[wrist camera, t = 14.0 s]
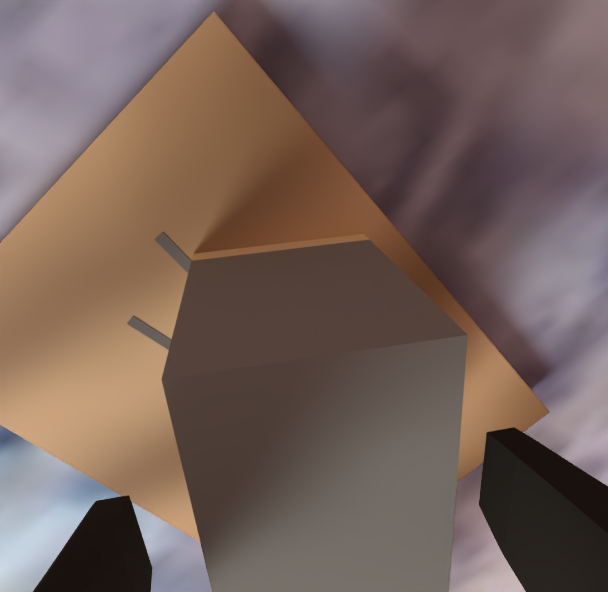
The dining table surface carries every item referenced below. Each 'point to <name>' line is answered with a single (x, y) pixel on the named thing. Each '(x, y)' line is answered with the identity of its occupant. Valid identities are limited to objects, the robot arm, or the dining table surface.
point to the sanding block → (317, 419)
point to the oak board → (183, 268)
